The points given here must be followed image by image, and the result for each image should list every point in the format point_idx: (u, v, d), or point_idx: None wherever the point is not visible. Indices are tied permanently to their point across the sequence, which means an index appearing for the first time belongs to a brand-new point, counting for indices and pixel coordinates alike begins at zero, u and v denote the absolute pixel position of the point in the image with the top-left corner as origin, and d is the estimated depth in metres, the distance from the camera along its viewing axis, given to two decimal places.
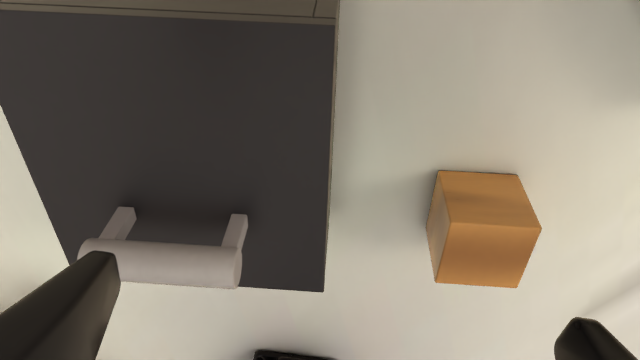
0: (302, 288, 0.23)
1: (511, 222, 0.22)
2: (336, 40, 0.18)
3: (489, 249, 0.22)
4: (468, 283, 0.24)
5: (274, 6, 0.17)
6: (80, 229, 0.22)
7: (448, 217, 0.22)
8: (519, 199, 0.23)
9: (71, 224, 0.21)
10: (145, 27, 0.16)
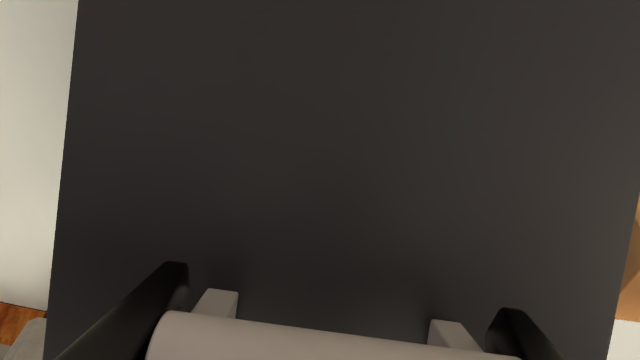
0: None
1: None
2: None
3: None
4: (638, 320, 0.20)
5: None
6: None
7: None
8: None
9: (88, 328, 0.10)
10: None
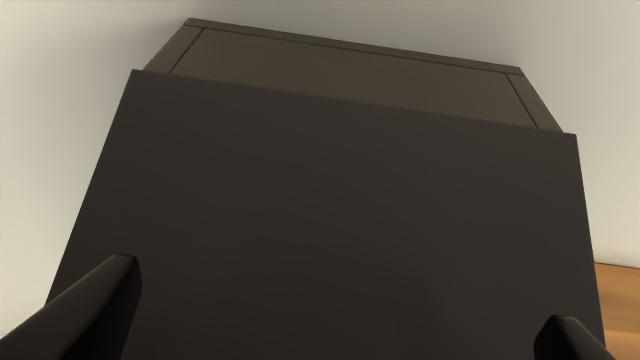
0: None
1: None
2: None
3: (622, 355, 0.21)
4: None
5: (483, 106, 0.15)
6: None
7: None
8: None
9: None
10: (355, 112, 0.13)
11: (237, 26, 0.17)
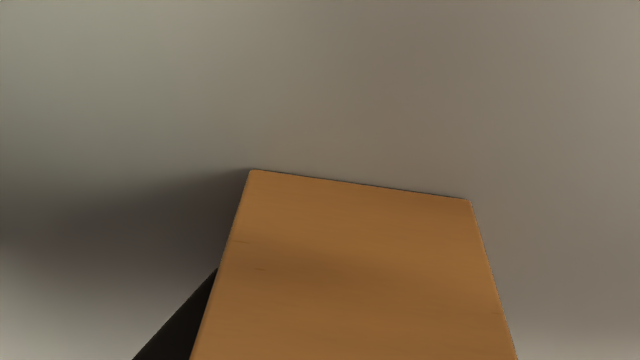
0: None
1: None
2: None
3: None
4: None
5: None
6: None
7: (194, 344, 0.06)
8: (466, 283, 0.07)
9: None
10: None
11: None
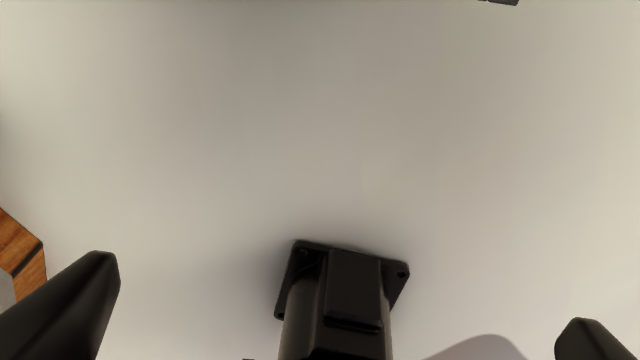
0: None
1: None
2: None
3: None
4: None
5: None
6: None
7: None
8: None
9: None
10: None
11: None
